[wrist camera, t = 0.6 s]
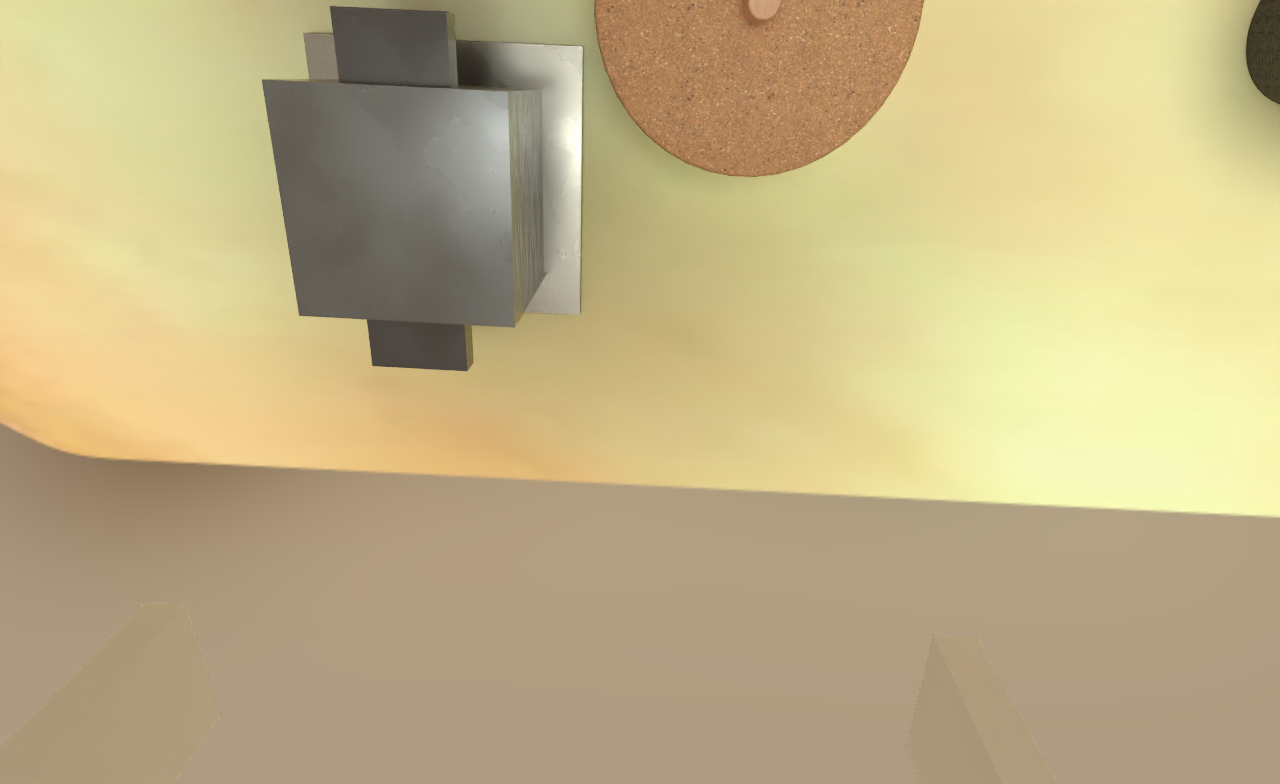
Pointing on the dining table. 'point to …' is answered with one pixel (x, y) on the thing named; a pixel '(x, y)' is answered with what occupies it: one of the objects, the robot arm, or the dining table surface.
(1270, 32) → the coffee cup
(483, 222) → the metal cube on plate
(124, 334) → the dining table surface
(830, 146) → the lidded jar
